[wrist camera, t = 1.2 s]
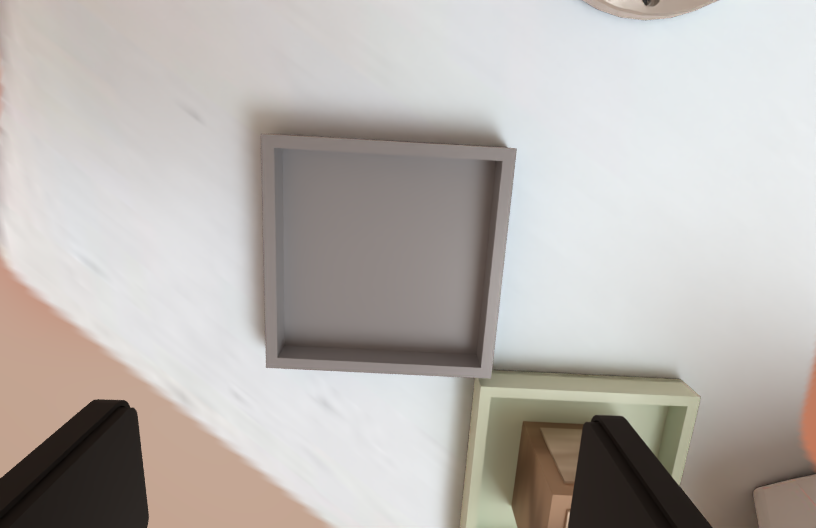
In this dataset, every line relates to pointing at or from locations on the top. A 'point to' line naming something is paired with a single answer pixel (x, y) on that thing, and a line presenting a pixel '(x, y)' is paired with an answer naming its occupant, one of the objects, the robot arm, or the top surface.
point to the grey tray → (383, 254)
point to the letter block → (545, 474)
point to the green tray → (563, 403)
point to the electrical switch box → (787, 503)
